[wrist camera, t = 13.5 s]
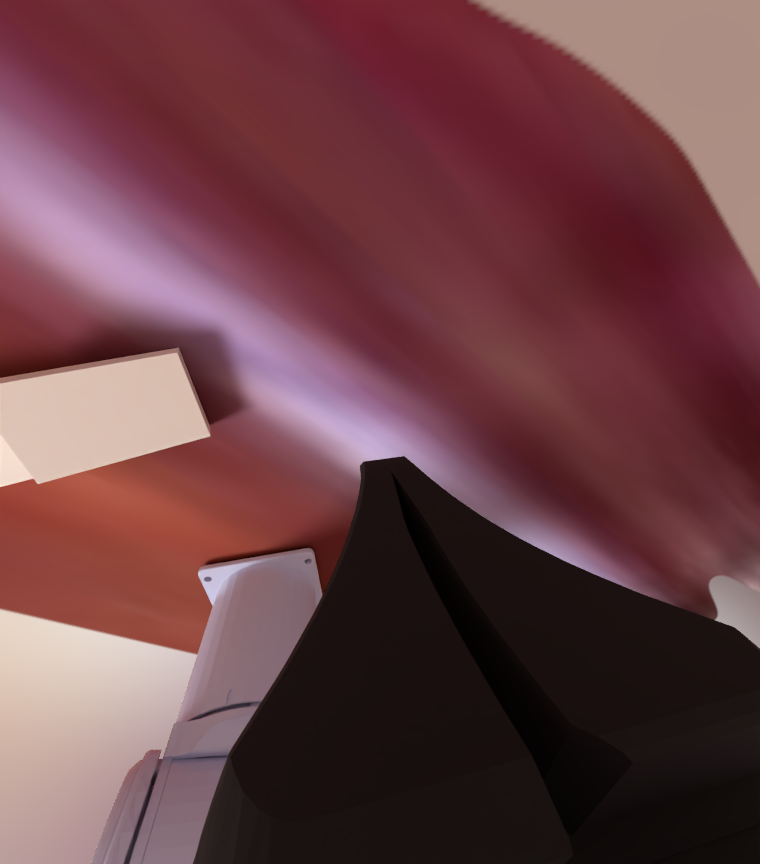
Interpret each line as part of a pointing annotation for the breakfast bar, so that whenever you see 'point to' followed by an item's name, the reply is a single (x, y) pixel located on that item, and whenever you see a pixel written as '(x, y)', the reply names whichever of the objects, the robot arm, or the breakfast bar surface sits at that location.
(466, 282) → the breakfast bar surface
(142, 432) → the domino
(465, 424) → the breakfast bar surface
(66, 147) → the breakfast bar surface
